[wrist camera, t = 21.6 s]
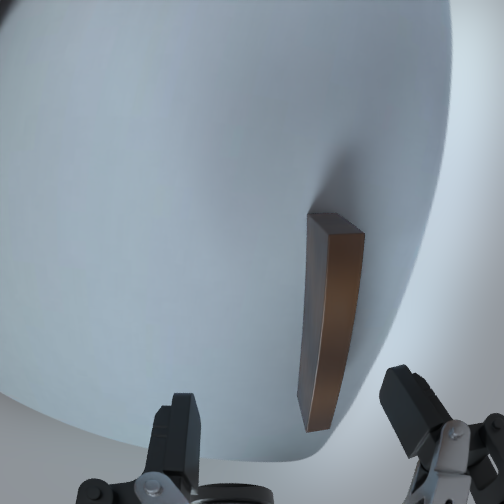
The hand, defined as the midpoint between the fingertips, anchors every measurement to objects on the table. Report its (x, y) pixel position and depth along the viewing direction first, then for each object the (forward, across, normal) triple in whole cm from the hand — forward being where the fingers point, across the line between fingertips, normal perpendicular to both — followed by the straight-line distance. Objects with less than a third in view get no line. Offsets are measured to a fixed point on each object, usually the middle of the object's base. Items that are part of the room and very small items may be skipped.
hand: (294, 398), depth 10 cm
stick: (+6, -2, +1) cm, 7 cm away
